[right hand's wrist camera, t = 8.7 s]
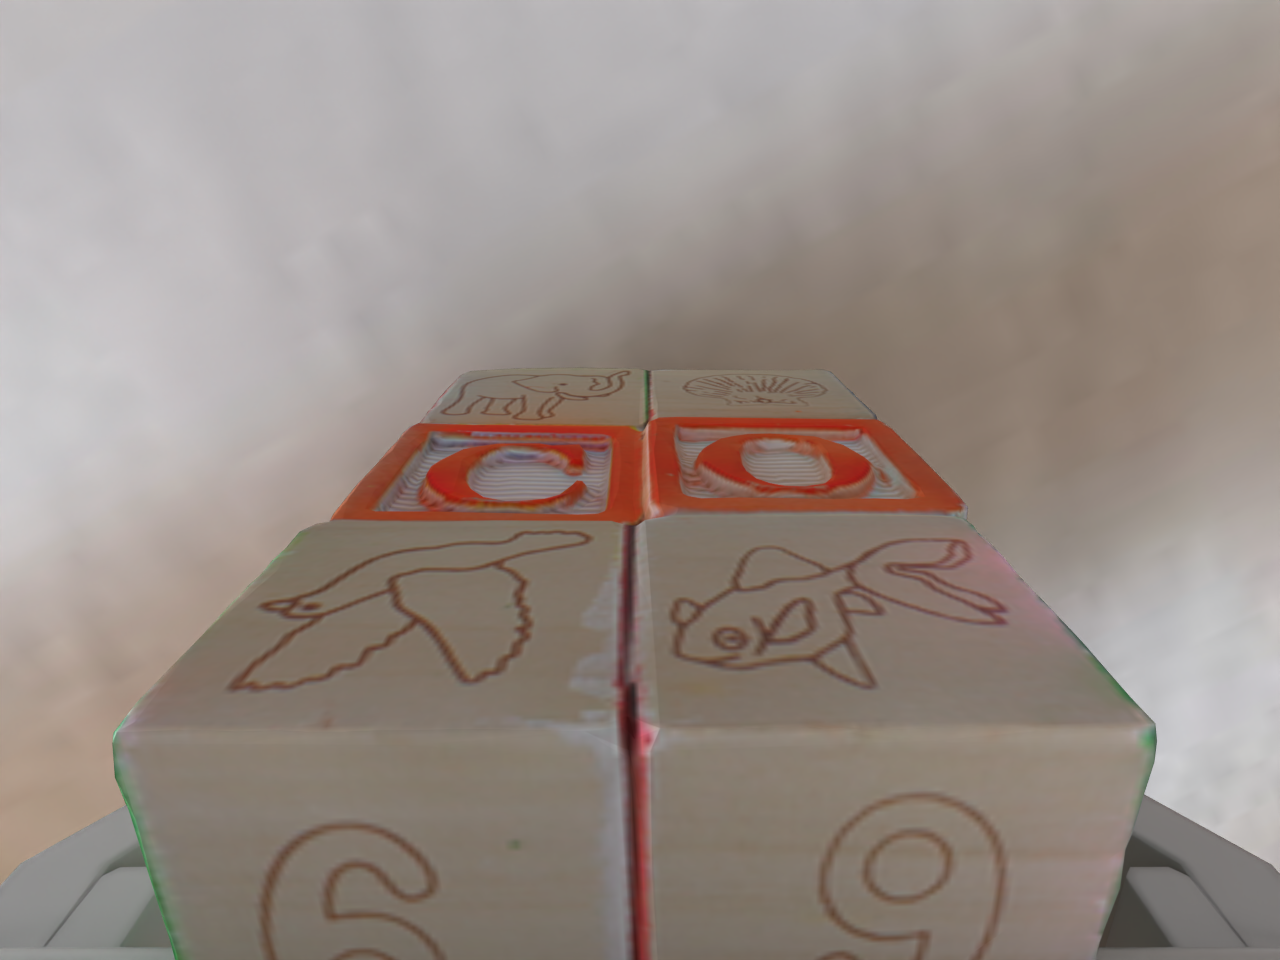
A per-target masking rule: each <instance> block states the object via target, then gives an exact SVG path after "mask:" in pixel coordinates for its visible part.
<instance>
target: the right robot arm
mask: <svg viewBox="0 0 1280 960" xmlns="http://www.w3.org/2000/svg"><path fill="white" fill-rule="evenodd" d="M0 960H175V958H174V954H173V950H172V946H171V943H170V939H169V936H168V933H167V930H166V926H165V923H164V920H163V917H162V914H161V911H160V908H159V905H158V902H157V899H156V896H155V893H154V889H153V886H152V883H151V880H150V877H149V874H148V871H147V867H146V864H145V861H144V858H143V855H142V851H141V848H140V845H139V842H138V839H137V835H136V832H135V829H134V826H133V822H132V819H131V816H130V813H129V810H128V808H127V805H125V806H123V807H121V808H120V809H118V810H116V811H114V812H112V813H111V814H109V815H107V816H105V817H103V818H102V819H100V820H98V821H96V822H94V823H93V824H91V825H89V826H87V827H85V828H84V829H82V830H80V831H78V832H76V833H75V834H73V835H71V836H69V837H67V838H66V839H64V840H62V841H60V842H58V843H57V844H55V845H53V846H51V847H49V848H48V849H46V850H44V851H42V852H40V853H39V854H37V855H35V856H33V857H31V858H30V859H28V860H26V861H24V862H22V863H21V864H20V865H19V866H18V867H17V868H16V869H15V870H14V871H13V872H12V873H11V875H10V876H9V877H8V878H7V879H6V880H5V881H4V882H3V883H2V884H1V886H0ZM1096 960H1280V873H1279V872H1278V871H1277V870H1276V869H1275V868H1274V867H1273V866H1272V865H1271V864H1269V863H1267V862H1266V861H1264V860H1262V859H1260V858H1258V857H1257V856H1255V855H1253V854H1251V853H1249V852H1247V851H1246V850H1244V849H1242V848H1240V847H1238V846H1237V845H1235V844H1233V843H1231V842H1229V841H1228V840H1226V839H1224V838H1222V837H1220V836H1218V835H1217V834H1215V833H1213V832H1211V831H1209V830H1208V829H1206V828H1204V827H1202V826H1200V825H1199V824H1197V823H1195V822H1193V821H1191V820H1189V819H1188V818H1186V817H1184V816H1182V815H1180V814H1179V813H1177V812H1175V811H1173V810H1171V809H1170V808H1168V807H1166V806H1164V805H1162V804H1160V803H1159V802H1157V801H1155V800H1153V799H1151V798H1150V797H1148V796H1146V795H1144V796H1143V799H1142V802H1141V806H1140V809H1139V813H1138V816H1137V820H1136V823H1135V826H1134V830H1133V833H1132V835H1131V838H1130V840H1129V842H1128V844H1127V847H1126V849H1125V855H1124V862H1123V870H1122V877H1121V884H1120V890H1119V892H1118V895H1117V897H1116V900H1115V903H1114V905H1113V908H1112V910H1111V913H1110V916H1109V918H1108V921H1107V923H1106V926H1105V929H1104V931H1103V934H1102V937H1101V940H1100V943H1099V948H1098V952H1097V957H1096Z"/></svg>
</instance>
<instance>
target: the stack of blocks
mask: <svg viewBox="0 0 1280 960" xmlns="http://www.w3.org/2000/svg"><path fill="white" fill-rule="evenodd" d="M967 511H968V507H967V506H966V504H965V503H964V502H963V501H962V500H961V498H960V497H959V496H958V495H957V494H956V493H955V492H954V491H953V490H952V489H951V488H950V487H949V486H948V485H947V484H946V483H945V482H944V481H943V480H942V479H941V478H940V476H939V475H938V474H937V473H936V472H935V471H934V470H933V469H932V468H931V467H930V466H929V465H928V464H927V463H926V462H925V461H924V460H923V459H922V458H921V457H920V456H919V455H918V454H917V453H916V452H915V451H914V450H913V449H912V448H911V447H910V446H909V445H907V444H906V443H905V442H904V441H903V440H902V439H901V438H900V437H899V436H898V435H897V434H896V433H895V432H894V431H893V430H892V429H891V428H890V427H889V426H888V425H886V424H884V423H882V422H881V421H879V420H877V417H876V415H875V414H874V413H873V412H872V411H871V410H870V409H869V408H868V407H867V406H865V405H864V404H863V403H862V402H861V401H860V400H859V399H858V398H857V397H856V396H855V395H854V394H853V392H851V391H850V390H849V389H848V388H846V387H845V386H844V385H843V384H842V383H841V382H840V381H839V380H838V379H837V378H836V377H835V376H834V375H833V374H832V373H831V372H829V371H826V370H654V371H647V370H641V369H622V368H524V369H497V370H481V371H470V372H467V373H465V374H462V375H461V376H460V377H459V378H458V379H457V380H456V381H455V382H454V383H453V384H452V385H451V386H450V387H449V388H448V389H447V390H446V391H445V392H444V393H443V395H442V396H441V397H440V398H439V399H438V400H437V402H436V403H435V404H434V406H433V407H432V408H431V410H430V411H428V412H427V415H426V416H425V417H424V418H423V420H422V421H421V422H420V423H418V424H416V425H414V426H411V427H409V428H408V429H407V430H406V431H405V432H404V433H403V434H402V435H401V437H400V438H399V440H398V441H397V442H396V443H395V444H394V445H393V446H392V447H391V448H390V449H389V450H388V451H387V452H386V454H385V455H384V456H383V457H382V459H381V460H380V461H379V462H378V463H377V464H376V465H375V466H374V468H373V469H372V470H371V471H370V472H369V473H368V474H367V475H366V476H365V477H364V478H363V479H362V480H361V481H360V482H359V483H358V484H357V485H356V487H355V488H354V489H353V490H352V492H351V493H350V494H349V495H348V497H347V498H346V499H345V500H344V502H343V503H342V504H341V505H340V507H339V508H338V509H337V510H336V512H335V513H334V514H333V516H332V518H331V520H330V522H325V523H319V524H315V525H313V526H311V527H309V528H307V529H305V530H303V531H301V532H299V533H298V535H297V536H296V537H295V538H294V539H293V540H292V542H291V543H290V544H289V545H288V546H287V548H285V549H284V550H283V551H282V552H281V553H280V554H279V555H278V556H277V557H276V558H275V559H274V560H273V561H272V562H271V563H270V564H269V565H268V567H267V568H266V569H265V570H264V571H263V573H262V574H261V575H260V576H259V577H258V578H256V579H255V580H254V581H253V582H252V583H251V584H250V585H249V586H248V587H247V588H246V589H245V590H244V591H243V592H242V594H240V595H239V596H238V597H237V598H236V599H235V600H234V601H233V602H232V603H231V604H230V605H229V606H228V607H227V608H226V610H225V611H224V612H223V613H222V614H221V615H220V616H219V617H218V618H217V620H216V621H215V622H214V623H213V624H212V625H211V626H210V627H209V628H208V630H207V631H206V632H205V633H204V634H203V635H202V636H201V637H200V638H199V639H198V640H197V641H196V642H195V643H194V644H193V645H192V646H191V648H190V649H189V650H188V651H187V652H186V653H185V654H184V655H183V656H182V657H181V658H180V659H179V660H178V661H177V662H176V663H175V664H174V665H173V666H172V667H171V668H170V669H169V670H168V671H167V672H166V673H165V674H164V675H163V676H162V677H161V678H160V679H159V680H158V681H157V682H156V683H155V684H154V685H153V686H152V687H151V688H150V689H149V690H148V691H147V692H146V693H145V695H144V696H143V697H142V698H141V699H140V700H139V701H138V702H137V703H136V704H135V706H134V707H133V708H132V710H131V711H130V712H129V713H128V715H127V716H126V717H125V719H124V720H123V721H122V723H121V724H120V725H119V726H118V728H117V729H116V730H115V732H114V735H113V743H112V744H113V757H114V771H115V779H116V781H117V783H118V786H119V788H120V791H121V793H122V796H123V798H124V800H125V803H126V805H127V808H128V810H129V813H130V816H131V819H132V822H133V826H134V829H135V832H136V835H137V839H138V842H139V845H140V848H141V851H142V855H143V858H144V861H145V864H146V867H147V871H148V874H149V877H150V880H151V883H152V886H153V889H154V893H155V896H156V899H157V902H158V905H159V908H160V911H161V914H162V917H163V920H164V923H165V926H166V930H167V933H168V936H169V939H170V943H171V946H172V950H173V954H174V958H175V960H1096V957H1097V952H1098V948H1099V943H1100V940H1101V937H1102V934H1103V931H1104V929H1105V926H1106V923H1107V921H1108V918H1109V916H1110V913H1111V910H1112V908H1113V905H1114V903H1115V900H1116V897H1117V895H1118V892H1119V890H1120V884H1121V877H1122V870H1123V862H1124V855H1125V849H1126V847H1127V844H1128V842H1129V840H1130V838H1131V835H1132V833H1133V830H1134V826H1135V823H1136V820H1137V816H1138V813H1139V809H1140V806H1141V802H1142V799H1143V796H1144V792H1145V789H1146V786H1147V783H1148V780H1149V777H1150V774H1151V771H1152V768H1153V764H1154V760H1155V752H1156V744H1157V737H1156V726H1155V723H1154V722H1153V721H1152V720H1151V719H1150V717H1149V716H1148V715H1147V714H1146V713H1145V712H1144V711H1143V710H1142V709H1141V708H1140V707H1139V706H1138V705H1137V704H1136V703H1135V702H1134V701H1133V700H1132V699H1131V697H1130V696H1129V695H1128V694H1127V693H1126V692H1125V691H1124V689H1123V688H1122V687H1121V686H1120V685H1119V684H1118V683H1117V681H1116V680H1115V679H1114V678H1113V677H1112V676H1111V675H1110V673H1109V672H1108V671H1107V670H1106V669H1105V668H1104V667H1103V665H1102V664H1101V663H1100V662H1099V661H1098V660H1097V659H1096V657H1095V656H1094V655H1093V654H1092V653H1091V652H1090V650H1089V649H1088V648H1087V647H1086V646H1085V645H1084V644H1083V642H1082V641H1081V640H1080V639H1079V638H1078V637H1077V636H1076V635H1075V634H1074V633H1073V632H1072V631H1071V630H1070V629H1069V628H1068V626H1067V625H1066V624H1065V623H1064V622H1063V621H1062V620H1061V619H1060V618H1059V617H1058V616H1057V615H1056V614H1055V613H1054V612H1053V611H1052V610H1051V609H1050V608H1049V607H1048V606H1047V604H1046V603H1045V602H1044V601H1043V600H1042V599H1041V598H1040V597H1039V596H1038V595H1037V594H1036V593H1035V592H1034V591H1033V590H1032V589H1031V588H1030V587H1029V586H1028V585H1027V584H1026V583H1025V582H1024V581H1023V580H1022V579H1021V578H1020V576H1019V575H1018V574H1017V573H1016V572H1015V570H1014V569H1013V568H1012V567H1011V566H1010V564H1009V563H1008V562H1007V561H1006V560H1005V558H1004V557H1003V556H1002V555H1001V554H1000V553H999V552H998V551H997V550H996V549H995V548H994V547H993V546H992V545H991V544H990V543H989V542H988V541H987V540H986V539H985V538H984V537H982V536H981V535H980V534H979V533H978V532H977V531H976V529H975V528H974V526H973V525H972V524H970V523H969V522H968V521H967V520H966V519H967Z"/></svg>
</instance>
